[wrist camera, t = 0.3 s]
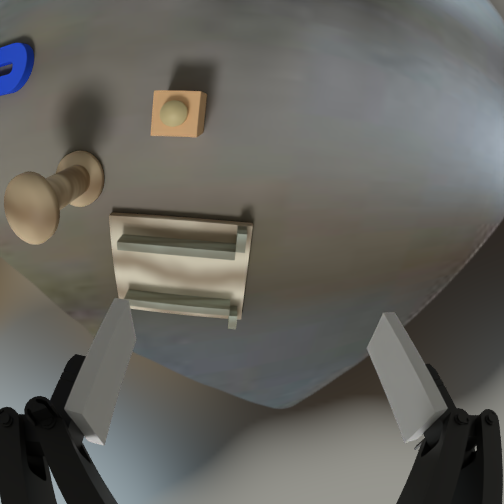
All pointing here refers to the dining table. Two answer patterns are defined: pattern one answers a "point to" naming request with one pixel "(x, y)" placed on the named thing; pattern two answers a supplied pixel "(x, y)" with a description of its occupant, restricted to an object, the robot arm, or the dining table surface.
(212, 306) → the board
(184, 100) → the tab
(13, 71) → the bracket
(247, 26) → the dining table surface
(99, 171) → the bobbin
